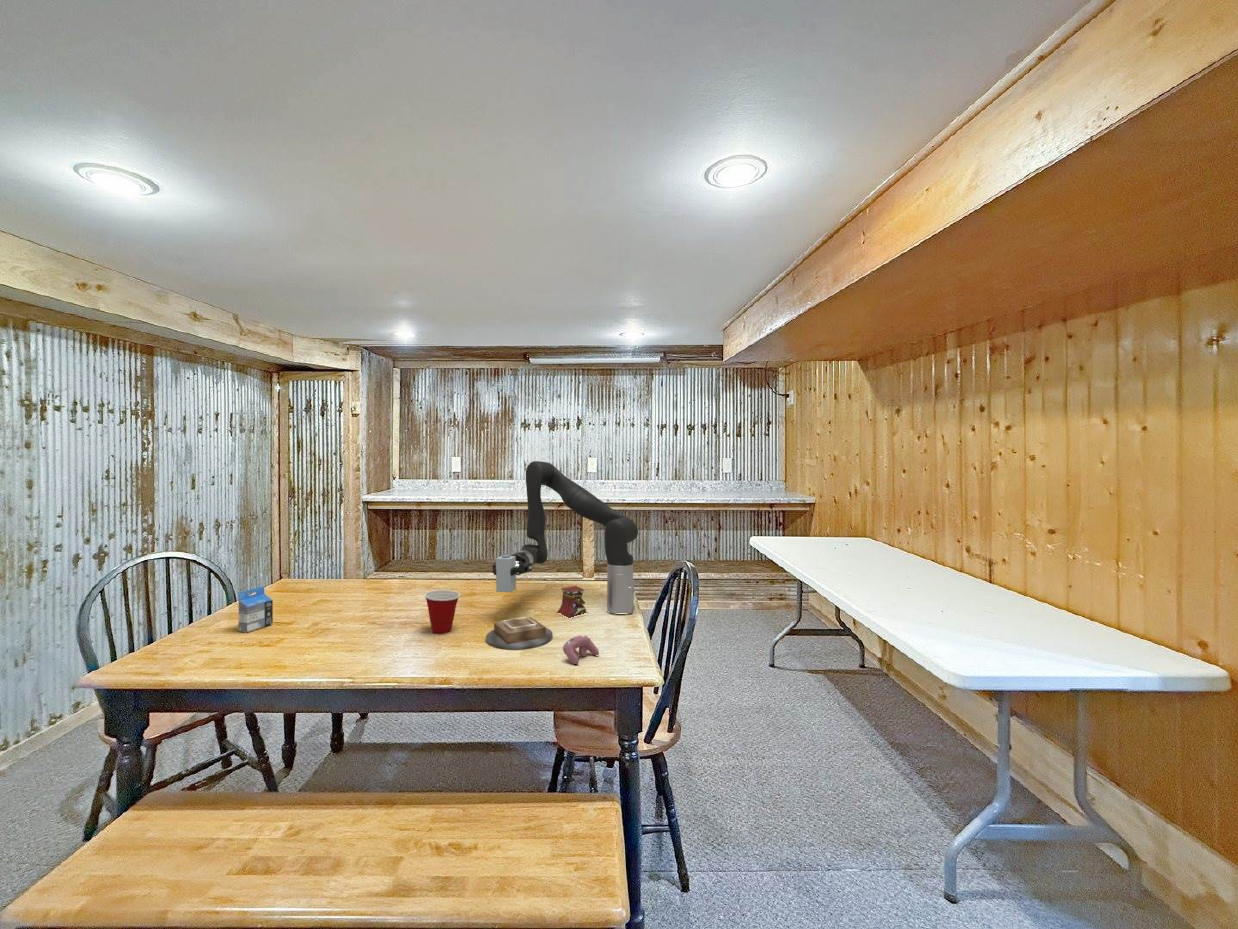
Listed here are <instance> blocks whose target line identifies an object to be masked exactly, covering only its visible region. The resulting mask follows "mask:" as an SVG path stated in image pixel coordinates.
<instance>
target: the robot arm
mask: <svg viewBox="0 0 1238 929" xmlns="http://www.w3.org/2000/svg"><path fill="white" fill-rule="evenodd" d="M525 486H526V487H525V488H526V498H527V499H526V500H527V522H526V523H527V524H526V537H527V538H529V539H532V540H534V541H536V543H537V544H528V543H527V544H524V545H522V547H521V548H520V550H519V551H517V552H514V553H512V554H511V555H510V556H516V566H515V567H513V568H512V569H511V570H510V575H511V576H513V575H515V574H516V576H519V575H523V574H526V573H527V574H528V573H529V572H532V571H533V566H534V565H535V564H537V565H538V564H540V565H543V564H544V563H546V561H547V560H548V558H549V552H548V547H547V542H546V531H545V530H546V523H547V522H546V520H547V518H546V512H545V508H544V505H543V501H542V497H541V496H542V494H541V493H542V490H541V489H542V486H543V487H544V486H545V487H548V488H550V489H551V490H552V491H554V492H555V493H557V494H558V495H559V496H560V498H561V500H562V502H563V504H564V505H565V506H566V507H567V508H569V509H570V510H571V511H573V512H574V513H576V514H577V515H578V516H580V517H581V518H585V519H587V520H590V521H592V522H596V523H597V524H600V525H602V526H604V527H605V529H604V551H605V557H606V559H607V565H606V566H607V572H606V573H607V575H606V580H607V581H606V583H607V584H606V611H607V610H608V611H609V612H611V613H632V614H633V612H634V610H633V609H634V608H635V605H634V604H635V603H634V602H635V584H634V556H633V554H630V553H629V549H628V544H629V543H632V542H633V541H635V540H637V537H638V535H639V530H638V529H639V528H638V526H637V523H635V521H634V520H633V519H631V518H629V517H628V516H626V515H624V514H623V513H620V512H618V511H617V510H615V509H613V508H612V507H610V506H609V505H608V504H606V503H605V502H604V501H602V500H601V499H599V498H598V497H596V496H595V494H592V493H591V492H590V491H589V490H587V489H585V488H584V487H582V486H581V485H579V484H578V483H576V482H575V481H573V479H572V480H571V479H570V478H569V477H567V476H566V475H564V474H563V473H562V471H560V470H559V469H558V468H557V467H556V466H555V465H553V464H552V463H550V462H547V461H538V460H533V461H531V462H529V464H528V465H527V467H526V469H525ZM492 573H493V575H494V576H496V561H495V562H494V563H493V565H492ZM632 611H633V612H632ZM611 613H610V614H611Z"/></svg>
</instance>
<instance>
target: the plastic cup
mask: <svg viewBox="0 0 1238 929" xmlns="http://www.w3.org/2000/svg"><path fill="white" fill-rule="evenodd" d="M460 597H461V594H460V592H458V591H455V590H452V589H451V590H450V589H449V590H448V589H435V590H430V591H427V592H425V593H424V598H425V600H426V605H427V609H428V614H429V615H428V617H429V621H430V627H431V631H432V633H433V634H438V635H439V634H440V635H441V634H447V633H450V632H452V628H453V624H454V618H455V614H456V613H455V612H456V608H457V604H458V600H459V598H460Z"/></svg>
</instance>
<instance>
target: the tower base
mask: <svg viewBox="0 0 1238 929" xmlns="http://www.w3.org/2000/svg"><path fill="white" fill-rule="evenodd" d="M553 634H554V633H553V631H552V630H551V629H549V628H548V627H546V626H544V625H543V624H541V623H540V622H539V621H537V620H536V619H535V618H533V617H531V616H524V617H516V618H511V619H504V620H501V621H497V622H494V623H493V629H492V630H490V631H489V632H487V634H486V635H485V642H486V644H487V645H488V646H490V645H491V646H490V647H492V646H493V647H492V648H495V647H496V648H495V649H500V650H507V651H508V650H509V651H516V650H519V651H521V650H529V649H534V648H535V649H536V648H539V647H541V645H542V646H544V645H543V644H545V645H546V644H548V643H550V642H551V641H552V640H553V636H554V635H553ZM551 639H552V640H551ZM538 646H539V647H538Z"/></svg>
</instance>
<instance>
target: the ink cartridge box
mask: <svg viewBox="0 0 1238 929" xmlns="http://www.w3.org/2000/svg"><path fill="white" fill-rule="evenodd" d="M251 593H253V594H251ZM250 594H251V595H250ZM273 606H274V603H273V599H272V598H271V597H270V596H268V595H267V594H265V586H259V587H257V588H253V589H249V590H248V589H246V590H243V591H240V592H238V632H239V633H244V632H248V633H251V631H252V632H254V630H255V631H257V629H258V630H261V629H263V628H262V627H264V628H266V627H265V626H267V627H271V626H273V624H274V622H273V621H274V619H273V618H274V616H273V615H274V614H273V612H274V610H273ZM260 628H261V629H260Z"/></svg>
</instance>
